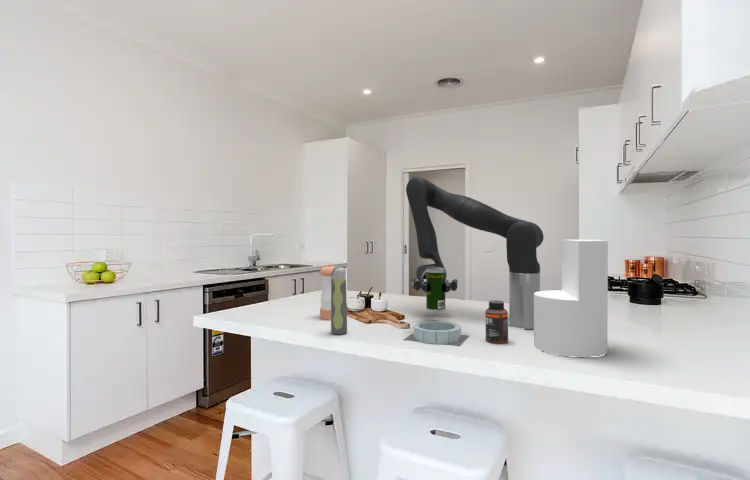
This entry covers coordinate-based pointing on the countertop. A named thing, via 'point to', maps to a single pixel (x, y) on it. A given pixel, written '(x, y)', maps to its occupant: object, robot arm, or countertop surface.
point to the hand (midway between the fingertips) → (436, 288)
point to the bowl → (437, 332)
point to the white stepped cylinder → (575, 303)
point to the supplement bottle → (496, 323)
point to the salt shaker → (326, 292)
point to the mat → (459, 343)
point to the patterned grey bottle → (338, 302)
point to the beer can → (435, 289)
